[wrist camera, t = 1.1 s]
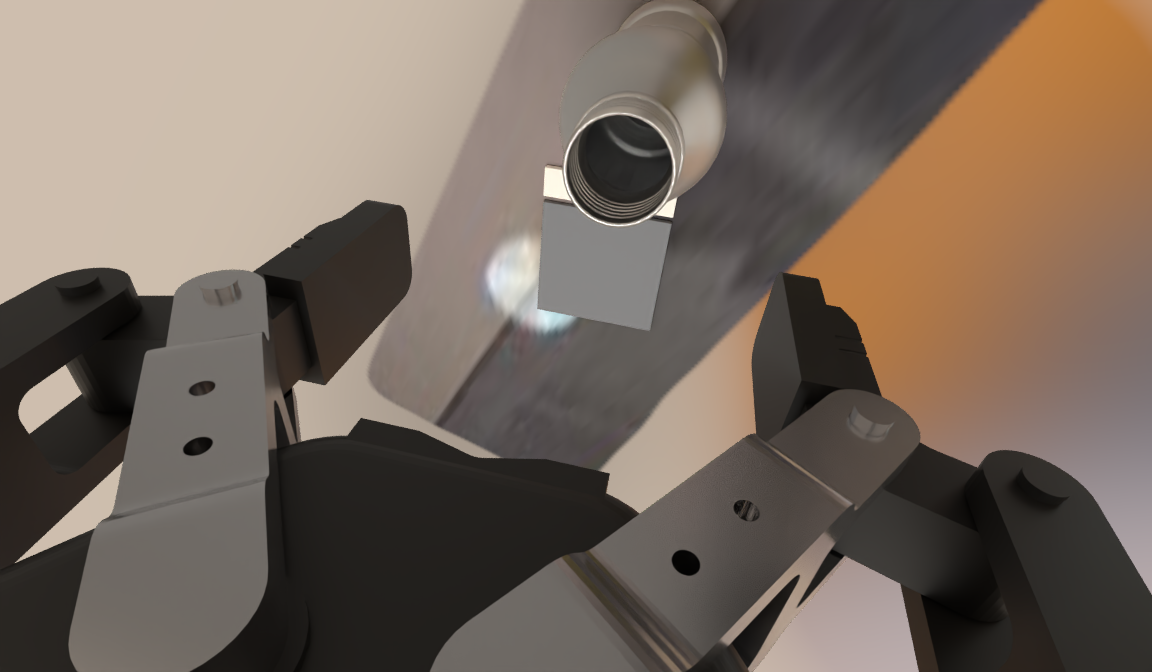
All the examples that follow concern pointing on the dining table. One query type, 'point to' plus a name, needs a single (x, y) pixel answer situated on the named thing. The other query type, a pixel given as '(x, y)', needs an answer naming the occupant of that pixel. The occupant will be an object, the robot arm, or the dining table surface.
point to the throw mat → (599, 262)
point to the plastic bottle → (644, 113)
